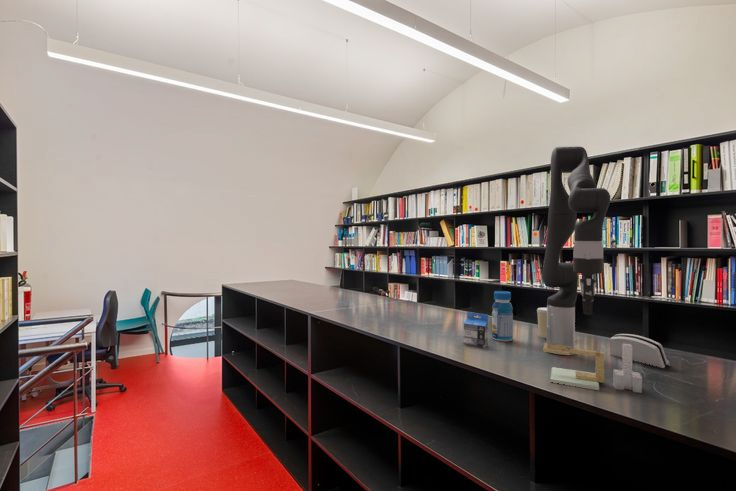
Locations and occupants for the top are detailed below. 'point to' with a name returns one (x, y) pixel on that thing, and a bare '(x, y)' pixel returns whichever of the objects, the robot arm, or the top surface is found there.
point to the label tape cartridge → (476, 329)
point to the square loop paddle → (598, 355)
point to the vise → (627, 373)
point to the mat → (571, 378)
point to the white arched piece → (639, 349)
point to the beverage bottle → (502, 316)
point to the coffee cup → (542, 322)
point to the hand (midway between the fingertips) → (587, 312)
